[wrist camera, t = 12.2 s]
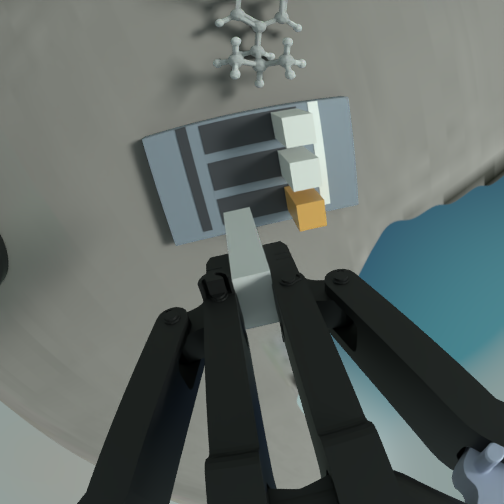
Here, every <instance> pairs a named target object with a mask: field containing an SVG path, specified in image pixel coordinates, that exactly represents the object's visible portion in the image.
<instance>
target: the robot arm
mask: <svg viewBox="0 0 504 504" xmlns="http://www.w3.org/2000/svg"><path fill="white" fill-rule="evenodd" d="M223 214H224V222H225V230H226V239H227V247H228V254H225V255H220V256H216V257H212V258H210V259H209V261H208V262H207V264H206V271H207V272H206V274H205V275H204V276H202V277H201V278H200V279H199V281H198V286H199V289H200V292H201V295H202V298H203V303H202V304H201V305H200V306H199V307H197V308H195V309H193V310H191V311H189V312H186V310H185V309H183V308H180V307H174V308H170V309H167V310H165V311H164V312H162V313H161V314H160V315H159V317H158V318H157V320H156V322H155V324H154V326H153V329H152V331H151V333H150V335H149V337H148V340H147V342H146V344H145V346H144V349H143V351H142V353H141V355H140V358H139V360H138V362H137V365H136V367H135V369H134V371H133V374H132V376H131V378H130V381H129V383H128V386H127V388H126V390H125V393H124V395H123V398H122V400H121V402H120V405H119V407H118V410H117V412H116V415H115V417H114V420H113V422H112V425H111V427H110V430H109V432H108V435H107V437H106V440H105V442H104V445H103V448H102V450H101V453H100V456H99V458H98V461H97V464H96V467H95V469H94V472H93V475H92V477H91V480H90V483H89V486H88V489H87V492H86V493H85V495H84V496H83V497H82V498H81V500H80V501H79V502H78V503H77V504H169V503H170V499H171V494H172V490H173V486H174V482H175V478H176V474H177V470H178V466H179V462H180V458H181V454H182V450H183V446H184V443H185V439H186V435H187V431H188V427H189V423H190V419H191V415H192V411H193V408H194V404H195V400H196V396H197V392H198V388H199V385H200V381H201V377H202V373H203V369H204V366H205V382H206V404H207V422H208V438H209V457H208V458H207V459H206V461H205V482H206V495H207V504H504V402H502V401H500V400H498V399H496V398H495V397H494V396H492V394H490V393H489V392H488V391H487V390H486V389H485V388H484V387H483V386H482V385H481V384H480V383H479V382H478V381H477V380H476V379H475V378H474V377H473V376H472V375H470V374H469V373H468V372H467V371H466V370H465V369H464V368H463V367H462V366H461V365H460V364H459V363H458V362H457V361H455V360H454V359H453V358H452V357H451V356H450V355H449V354H448V353H447V352H446V351H444V350H443V349H442V348H441V347H440V346H439V345H438V344H437V343H436V342H434V341H433V340H432V339H431V338H430V337H429V336H428V335H427V334H425V333H424V332H423V331H422V330H421V329H420V328H419V327H418V326H416V325H415V324H414V323H413V322H412V321H411V320H409V319H408V318H407V317H406V316H405V315H404V314H403V313H401V312H400V311H399V310H398V309H397V308H396V307H394V306H393V305H392V304H391V303H390V302H389V301H387V300H386V299H385V298H384V297H383V296H381V295H380V294H379V293H378V292H377V291H375V290H374V289H373V288H372V287H371V286H369V285H368V284H367V283H366V282H365V281H364V280H362V279H361V278H360V277H359V276H358V275H356V274H355V273H354V272H352V271H350V270H346V269H337V270H333V271H331V272H329V273H328V274H327V275H326V276H325V280H309V279H306V278H305V277H304V276H303V275H302V274H301V273H299V271H298V269H297V267H296V265H295V262H294V260H293V258H292V256H291V254H290V252H289V249H288V247H287V245H286V244H284V243H282V242H281V241H279V242H274V243H270V244H265V245H262V244H261V241H260V238H259V235H258V232H257V229H256V225H255V222H254V219H253V216H252V213H251V210H250V207H247V208H243V209H238V210H234V211H229V212H225V213H223ZM7 271H8V256H7V251H6V248H5V244H4V242H3V239H2V237H1V235H0V284H1V283H2V282H3V280H4V279H5V277H6V274H7ZM279 321H280V327H281V332H282V338H283V342H285V346H286V349H287V353H288V356H289V360H290V364H291V367H292V371H293V374H294V378H295V381H296V385H297V389H298V392H299V396H300V399H301V403H302V407H303V410H304V414H305V417H306V421H307V425H308V428H309V432H310V435H311V439H312V443H313V446H314V450H315V454H316V457H317V461H318V465H319V469H320V474H321V479H319V480H318V481H316V482H314V483H312V484H310V485H308V486H305V487H303V488H301V489H277V488H276V484H275V481H274V477H273V473H272V468H271V462H270V457H269V452H268V447H267V441H266V436H265V431H264V425H263V420H262V415H261V409H260V404H259V398H258V393H257V387H256V382H255V376H254V370H253V365H252V359H251V353H250V348H249V342H248V337H247V333H246V330H245V329H250V328H254V327H259V326H263V325H268V324H272V323H276V322H279ZM330 334H331V335H332V336H333V337H334V338H335V340H336V341H337V342H338V343H339V344H340V345H341V347H342V348H343V349H344V350H345V351H346V352H347V354H348V355H349V356H350V357H351V358H352V359H353V361H354V362H355V363H356V364H357V365H358V366H359V368H360V369H361V370H362V371H363V372H364V373H365V375H366V376H367V377H368V378H369V379H370V380H371V382H372V383H373V384H374V385H375V386H376V387H377V388H378V390H379V391H380V392H381V393H382V394H383V396H385V398H386V399H387V400H388V401H389V403H390V404H391V405H392V406H393V407H394V408H395V410H396V411H397V412H398V413H399V414H400V416H401V417H402V418H403V419H404V420H405V421H406V423H407V424H408V425H409V426H410V427H411V428H412V430H413V431H414V432H415V433H416V434H417V435H418V437H419V438H420V439H421V440H422V441H423V442H424V444H425V445H426V446H427V447H428V448H429V450H430V451H431V452H432V453H433V454H434V455H435V456H436V457H437V458H438V459H439V460H440V461H441V462H442V463H444V464H445V465H446V466H448V467H449V468H450V469H452V470H453V475H452V480H453V484H454V487H455V488H456V489H457V490H458V491H459V492H460V493H461V494H462V495H463V497H464V499H465V503H464V502H462V501H460V500H457V499H455V498H453V497H451V496H448V495H446V494H444V493H442V492H439V491H438V490H435V489H433V488H431V487H429V486H427V485H425V484H423V483H421V482H419V481H417V480H415V479H413V478H411V477H409V476H407V475H405V474H403V473H400V472H397V471H394V470H393V469H392V467H391V464H390V462H389V459H388V457H387V454H386V452H385V449H384V447H383V444H382V442H381V439H380V437H379V434H378V432H377V430H376V428H375V426H374V424H373V423H372V422H370V421H368V420H367V419H366V418H365V415H364V414H363V411H362V408H361V406H360V403H359V401H358V398H357V396H356V394H355V391H354V389H353V386H352V384H351V382H350V379H349V377H348V375H347V372H346V370H345V367H344V365H343V363H342V360H341V358H340V356H339V353H338V351H337V349H336V347H335V344H334V342H333V339H332V337H331V335H330Z"/></svg>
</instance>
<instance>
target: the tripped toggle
mask: <svg viewBox="0 0 504 504" xmlns="http://www.w3.org/2000/svg"><path fill="white" fill-rule="evenodd" d="M284 190H285V196H286V202H287V208H288V211H289V213H290V215H291V216H292V218H293V220H294V222H295V223H296V225H297V227H298V229H299V231H304V230H309V229H313V228H318V227H322V226H327V222H326V211H325V202H324V199H323V198H322V197H321V195H320V194H319V193H318V192H317V191H316V190H315V189H314V188H311V189H306V190H301V191H296V192H294V191H293V190H292V189H291V187H290V186H287V187H284Z"/></svg>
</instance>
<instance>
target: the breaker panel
mask: <svg viewBox="0 0 504 504" xmlns="http://www.w3.org/2000/svg"><path fill="white" fill-rule="evenodd" d="M142 141H143V145H144V148H145V152H146V155H147V159H148V162H149V165H150V168H151V172H152V175H153V178H154V181H155V185H156V188H157V191H158V194H159V197H160V200H161V203H162V206H163V209H164V212H165V215H166V218H167V221H168V224H169V227H170V230H171V233H172V236H173V239H174V242H175V245H176V246H177V245H181V244H186V243H190V242H194V241H198V240H202V239H206V238H211V237H215V236H219V235H223V234H226V230H225V222H224V214H223V213H225V212H229V211H234V210H238V209H243V208H247V207H250V210H251V213H252V216H253V219H254V222H255V225H256V227H258V226H262V225H267V224H271V223H276V222H280V221H285V220H289V219H293V218H292V216H291V215H290V213H289V211H288V208H287V202H286V196H285V190H284V187H287V186H290V187H291V189H292V190H293V191H294V192H296V191H301V190H306V189H311V188H314V189H315V190H316V191H317V192H318V193H319V194H320V195H321V197H322V198H323V199H324V202H325V211H330V210H335V209H339V208H344V207H349V206H354V205H358V189H357V175H356V163H355V152H354V142H353V132H352V124H351V116H350V108H349V100H348V97H344V96H338V97H329V98H321V99H313V100H306V101H299V102H292V103H286V104H280V105H274V106H269V107H263V108H258V109H253V110H248V111H243V112H238V113H233V114H229V115H224V116H220V117H216V118H211V119H207V120H203V121H199V122H195V123H191V124H188V125H184V126H180V127H176V128H173V129H169V130H166V131H162V132H159V133H156V134H152V135H149V136H146V137H144V138H143V139H142Z"/></svg>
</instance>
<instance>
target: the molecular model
mask: <svg viewBox="0 0 504 504" xmlns="http://www.w3.org/2000/svg"><path fill="white" fill-rule="evenodd" d="M287 1H288V0H280V6H279V12H277V13H276V15H275V18H273V19H271V20H268V21H265V22H263V21H258V20H256V19H254V18H253V17H251V16H249V15H247V14H245V13H244V11H243V10H242V9H240V7H241V0H236V9H234V10H232V11H231V14H230V15H229V16H227V17H225V18H223V19H217V20H216V21H215V25H216V26H217V27H221V26H223V25H224V23H226V22H228V21H231V20H236V21H242V22H244V23H245V24H247V25H249V26H251V27H252V29H253V31H254V32H256V35H255V45H254V46H252V47H251V49H250V50H249V51H245V52H243V51H239V45H240V44H241V39H240V38H238V37H233V38H232V39H231V44H232V45H233V54H232V55H230V57H229V58H228V59H225V60H221V59H216V60H214V62H213V66H215V67H216V68H219V67H221V66H222V65H227V64H229V65H230V66H232V71H231V72H230V77H231V78H232V79H238V78H239V77H240V71H238V67H240V66H241V65H242V64H243V65H248V66H253V69H254V70H255V71H257V80H256V81H255V86H256V87H258V88H261V87H263V85H264V81H263V80H262V72H263V71H265V70H266V68H267V67H268V66H274V65H281V66H282V67H285V69H286V72H285V76H286V78H287V79H290V80H291V79H294V77H295V73H294V71H292V70H291V66H292V65H297V66H298V67H299V68H304V67H305V66H306V62H305V60H303V59H299V60H294V59H293V57H292V56H291V55H290V46H292V44H293V41H292V39H291V38H284V39H283V44H284V54H283V55H281V56H280V57H279V59H276V60H273V59H274V58H275V54H273V53H271V52H269V53H267V52H265V51H264V49H263V47H262V46H260V45H261V33H262V32H264V31H265V29H266V26H268V25H270V24H273V23H275V22H278V23H280V24H284V23H286V24H288V25H290V26H291V27H293V30H295V31H296V32H300V31H301V30H302V26H301V25H300V24H296V23H294V22H292V21H291V20H289V17H288V14H287V13H286V9H287ZM248 55H252V56H254V57H255V58H256V59H255V60H254V61H250V60H246V59H244V57H245V56H248ZM261 56H265V57H266V58H267V59H268V60H270V61H265V60H264V59H261Z"/></svg>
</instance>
